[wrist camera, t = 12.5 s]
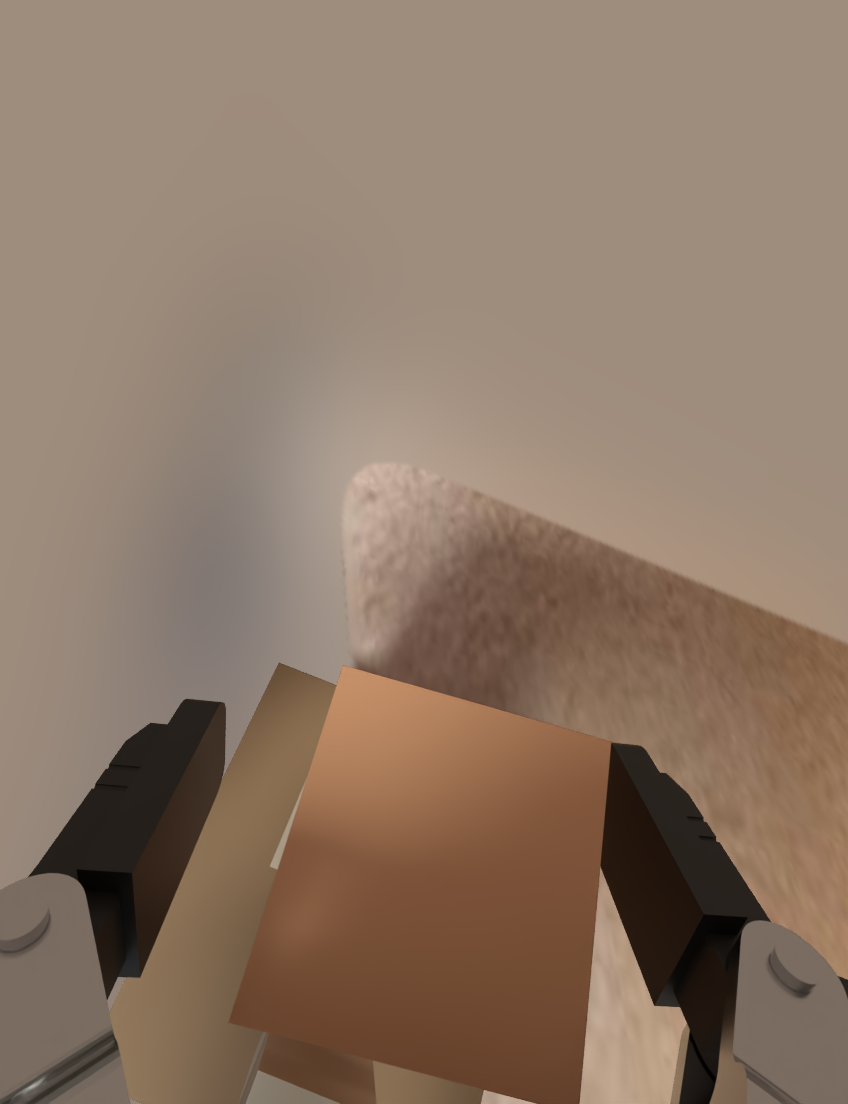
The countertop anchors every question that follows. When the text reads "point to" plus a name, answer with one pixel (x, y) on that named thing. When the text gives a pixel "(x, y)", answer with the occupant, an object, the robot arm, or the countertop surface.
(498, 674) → the countertop surface
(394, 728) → the orange rectangular block
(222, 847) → the board
